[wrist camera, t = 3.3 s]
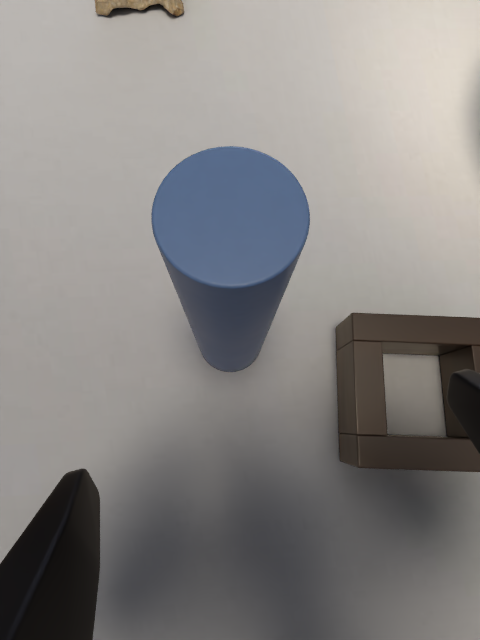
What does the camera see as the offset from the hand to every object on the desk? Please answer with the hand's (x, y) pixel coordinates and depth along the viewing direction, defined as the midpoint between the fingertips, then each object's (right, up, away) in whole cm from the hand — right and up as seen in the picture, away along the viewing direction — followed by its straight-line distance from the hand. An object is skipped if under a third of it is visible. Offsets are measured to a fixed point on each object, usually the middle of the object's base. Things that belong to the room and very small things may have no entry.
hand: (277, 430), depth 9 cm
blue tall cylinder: (-1, +2, +12) cm, 12 cm away
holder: (+8, -1, +11) cm, 14 cm away
